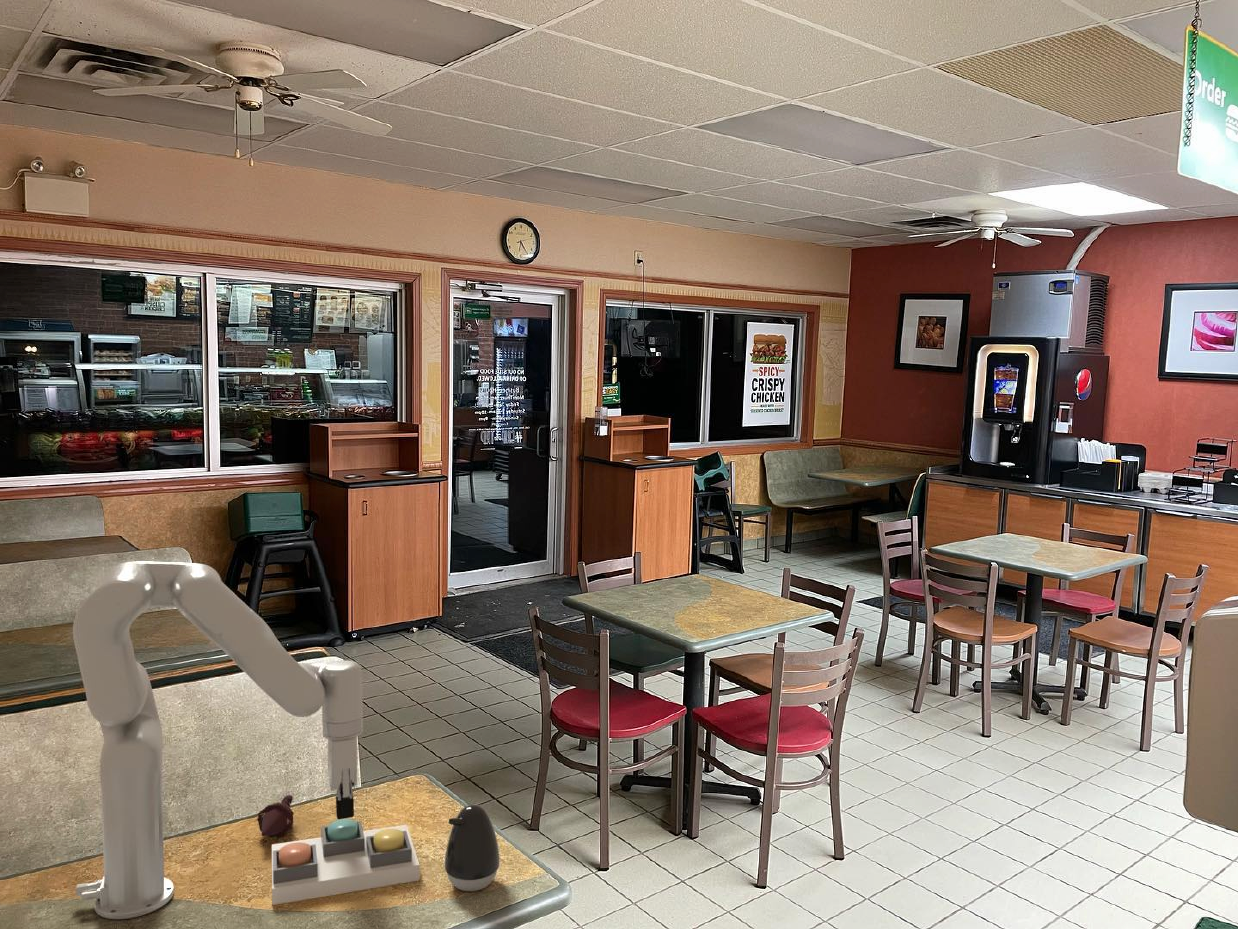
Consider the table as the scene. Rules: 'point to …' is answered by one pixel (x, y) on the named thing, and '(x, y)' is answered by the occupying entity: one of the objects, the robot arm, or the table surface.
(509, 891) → the table surface
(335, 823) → the button teal
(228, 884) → the table surface
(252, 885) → the table surface
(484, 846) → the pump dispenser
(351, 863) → the button panel
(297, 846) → the button terracotta
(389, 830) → the button ochre
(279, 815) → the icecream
